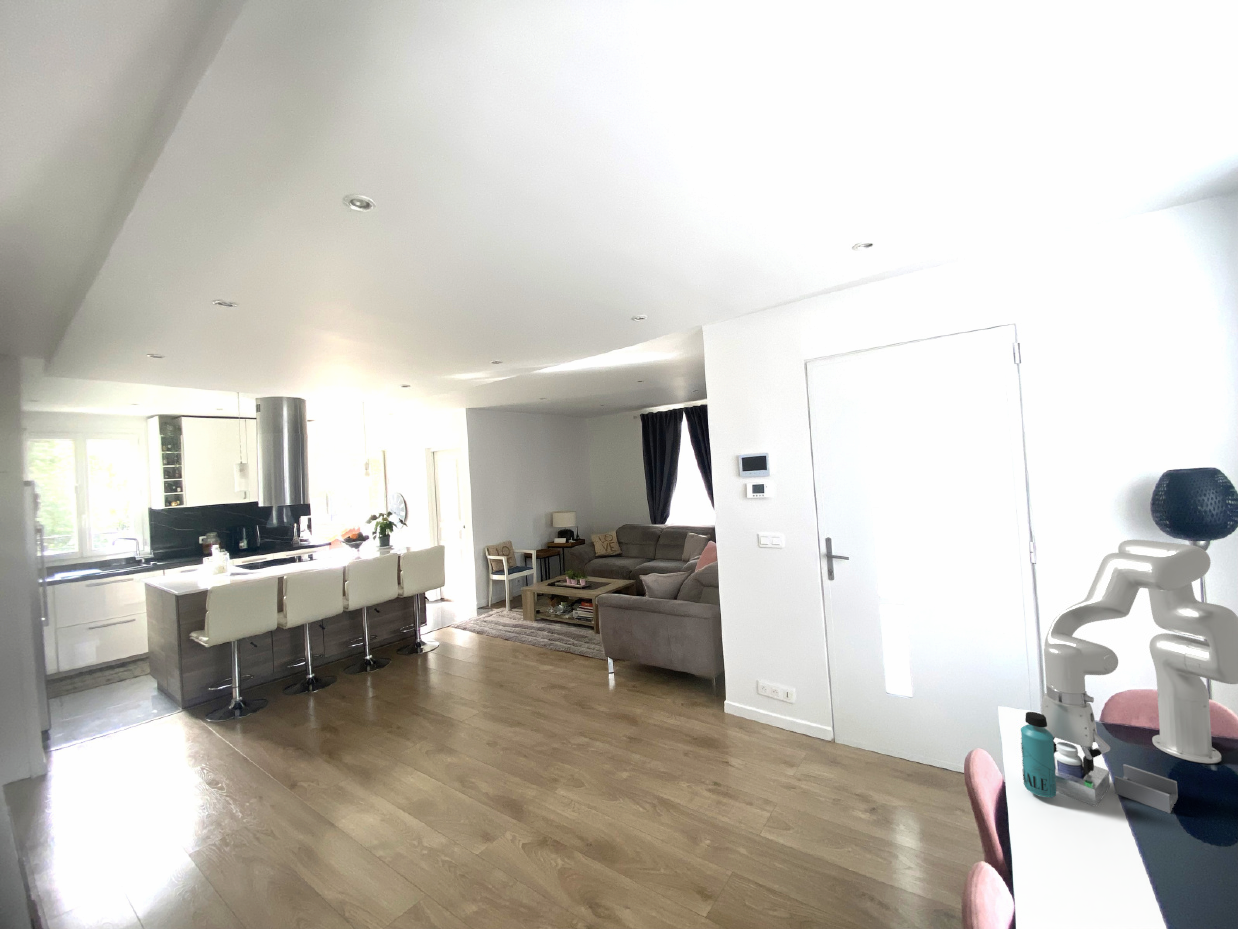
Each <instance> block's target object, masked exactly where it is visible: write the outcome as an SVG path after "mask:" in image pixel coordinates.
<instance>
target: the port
mask: <svg viewBox="0 0 1238 929" xmlns="http://www.w3.org/2000/svg"><path fill="white" fill-rule="evenodd" d="M1082 762H1083V760H1082ZM1054 765H1055V761H1054ZM1083 773H1084V768H1083ZM1055 774H1056V776H1055V777H1056V793H1057V792H1058V793H1060V794H1062V795H1065V796H1068V797H1070V798H1072V799H1075V800H1077V801H1080V802H1081V803H1082V802H1083V803H1085V804H1088V805H1091V806H1092V807H1097V806H1098V804H1099V802H1100V801H1101V800H1102V799H1103V797H1104V796H1105V795H1106V793H1107V792H1106V791H1108V790H1109V789H1110V787H1111V782H1110V781H1111V780H1110V770H1108V769H1105V768H1103V767H1100V766H1097V765H1094V770H1093V771H1091V772H1090V773H1089V774H1088V775H1087V774H1085V773H1084V778H1083V779H1080V778H1077V777H1075V776H1072V775H1069V774H1067V773H1064V772H1061V771H1058V770H1056V769H1055ZM1101 798H1102V799H1101Z"/></svg>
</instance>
